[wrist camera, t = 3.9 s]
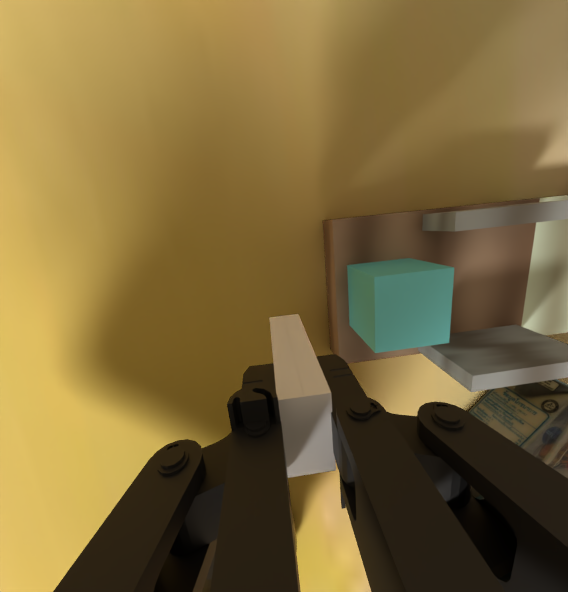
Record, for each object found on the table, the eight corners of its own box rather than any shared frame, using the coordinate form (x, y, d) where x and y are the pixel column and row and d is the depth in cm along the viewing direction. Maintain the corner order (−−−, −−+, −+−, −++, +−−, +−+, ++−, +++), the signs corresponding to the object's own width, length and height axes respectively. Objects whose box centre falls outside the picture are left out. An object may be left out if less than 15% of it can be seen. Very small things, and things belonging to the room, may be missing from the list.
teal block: (349, 325, 22) (375, 353, 17) (347, 265, 21) (374, 277, 16) (407, 317, 22) (449, 342, 17) (409, 258, 21) (454, 267, 16)
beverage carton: (558, 392, 30) (638, 437, 24) (440, 505, 33) (483, 572, 26) (516, 356, 28) (591, 394, 22) (395, 478, 31) (431, 543, 25)
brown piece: (330, 349, 26) (367, 411, 17) (322, 220, 22) (363, 216, 14) (604, 311, 27) (764, 351, 19) (632, 188, 24) (840, 167, 16)
